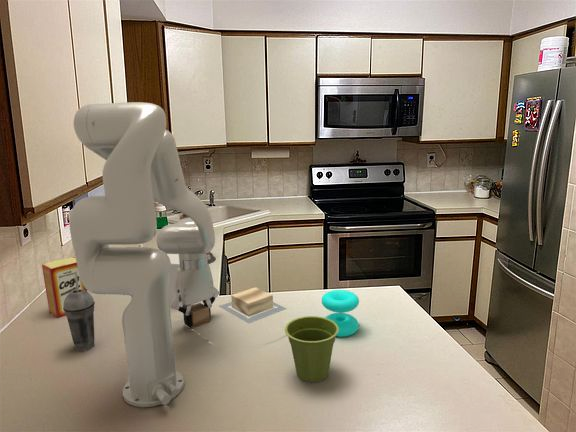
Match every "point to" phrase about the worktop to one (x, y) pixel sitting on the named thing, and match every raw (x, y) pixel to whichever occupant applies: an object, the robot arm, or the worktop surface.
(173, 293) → the milk carton
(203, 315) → the walnut block
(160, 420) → the worktop surface
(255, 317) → the board
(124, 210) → the robot arm
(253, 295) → the maple slab
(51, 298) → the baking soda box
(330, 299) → the donuts
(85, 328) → the beverage cup
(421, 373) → the worktop surface
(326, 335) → the plant pot
